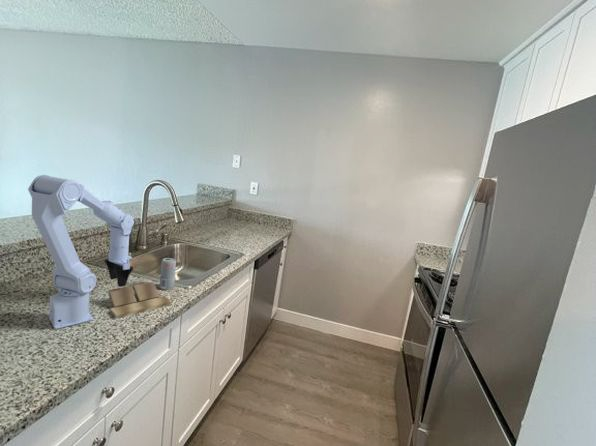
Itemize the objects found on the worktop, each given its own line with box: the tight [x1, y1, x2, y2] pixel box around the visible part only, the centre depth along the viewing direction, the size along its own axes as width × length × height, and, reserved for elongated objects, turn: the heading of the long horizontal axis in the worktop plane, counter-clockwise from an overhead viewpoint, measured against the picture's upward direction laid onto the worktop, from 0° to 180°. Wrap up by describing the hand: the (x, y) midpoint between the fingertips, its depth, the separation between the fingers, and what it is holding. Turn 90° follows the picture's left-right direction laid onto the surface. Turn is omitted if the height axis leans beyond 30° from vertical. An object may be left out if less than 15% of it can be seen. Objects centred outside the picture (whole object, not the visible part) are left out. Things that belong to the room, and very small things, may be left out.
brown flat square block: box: [107, 285, 138, 308], centre depth 104 cm, size 7×7×1 cm
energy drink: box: [159, 257, 177, 291], centre depth 121 cm, size 5×5×12 cm
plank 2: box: [132, 281, 161, 302], centre depth 110 cm, size 7×7×1 cm
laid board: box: [109, 296, 172, 319], centre depth 104 cm, size 18×6×1 cm, turn 140°
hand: (117, 282), depth 107 cm, fingers open, 7 cm apart
